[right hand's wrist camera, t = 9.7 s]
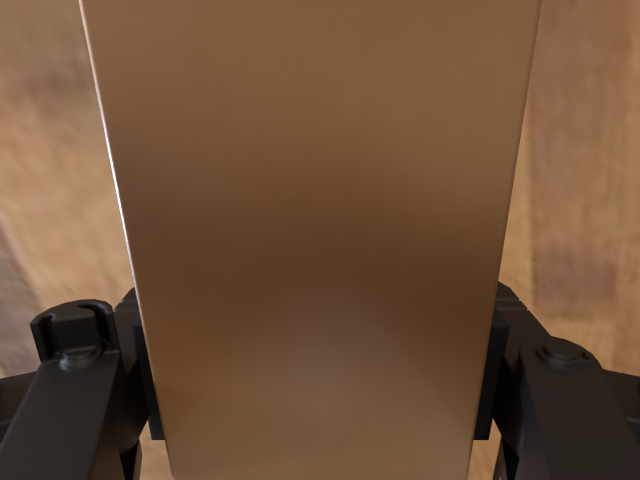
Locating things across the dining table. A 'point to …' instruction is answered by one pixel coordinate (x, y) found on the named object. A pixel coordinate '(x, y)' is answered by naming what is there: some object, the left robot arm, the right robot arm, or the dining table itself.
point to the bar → (314, 222)
